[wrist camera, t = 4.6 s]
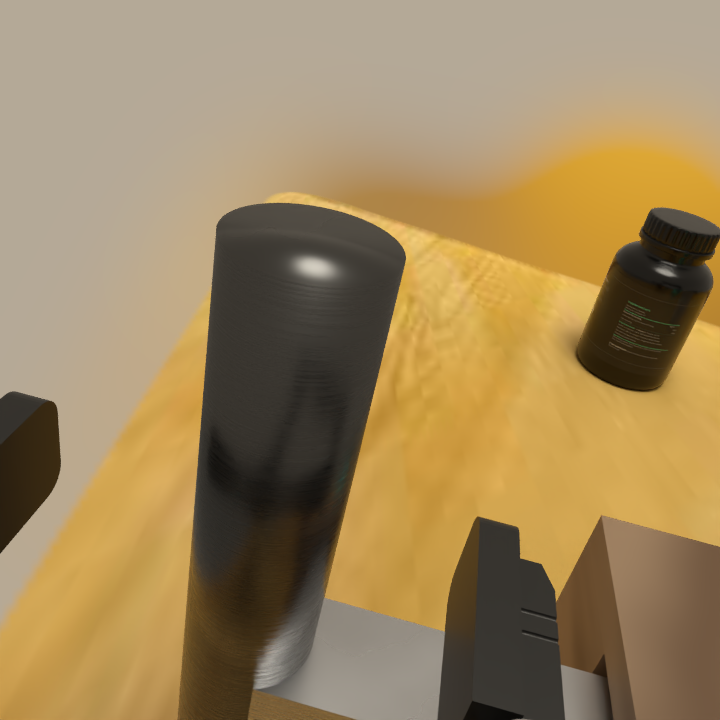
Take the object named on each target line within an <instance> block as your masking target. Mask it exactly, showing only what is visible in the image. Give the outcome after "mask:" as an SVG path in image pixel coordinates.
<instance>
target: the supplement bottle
mask: <svg viewBox="0 0 720 720" xmlns="http://www.w3.org/2000/svg"><path fill="white" fill-rule="evenodd" d="M639 236H640V237H641V240H640V241H636V242H632V243H629V244H627V245H625V246H623V247H622V248H621V249H620V250H619V251H618V252H617V253H616V255H615V257H614V259H613V262H612V264H611V266H610V268H609V271H608V273H607V276H606V278H605V280H604V283H603V285H602V288H601V290H600V292H599V295H598V297H597V300H596V302H595V304H594V307H593V309H592V312H591V314H590V316H589V319H588V321H587V324H586V326H585V328H584V331H583V333H582V336H581V338H580V341H579V344H578V347H577V352H578V356H579V359H580V361H581V362H582V364H583V365H584V366H585V367H586V368H587V369H588V370H589V371H590V372H592V373H593V374H595V375H596V376H598V377H599V378H601V379H603V380H605V381H607V382H609V383H612V384H614V385H617V386H620V387H623V388H627V389H633V390H650V389H654V388H656V387H658V386H660V385H661V384H662V383H663V382H664V381H665V380H666V378H667V376H668V374H669V372H670V370H671V369H672V367H673V365H674V363H675V361H676V359H677V357H678V355H679V353H680V351H681V349H682V347H683V345H684V343H685V341H686V339H687V337H688V335H689V334H690V332H691V330H692V328H693V326H694V324H695V322H696V320H697V318H698V316H699V314H700V312H701V310H702V308H703V306H704V304H705V302H706V300H707V298H708V296H709V294H710V292H711V290H712V288H713V276H712V273H711V271H710V269H709V268H708V266H707V265H706V264H705V260H709V259H711V258H712V257H713V255H714V253H715V247H716V245H717V243H718V241H719V239H720V229H719V227H717V226H716V225H715V224H713V223H711V222H710V221H707V220H705V219H703V218H701V217H699V216H696V215H693V214H690V213H687V212H684V211H680V210H676V209H670V208H654V209H651V211H650V212H649V214H648V216H647V219H646V221H645V224H644V226H643V227H642V228H641V230H640V233H639Z"/></svg>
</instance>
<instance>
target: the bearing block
mask: <svg viewBox="0 0 720 720" xmlns="http://www.w3.org/2000/svg"><path fill="white" fill-rule="evenodd" d="M556 611H557V619H556V622H557V624H558V636H559V640H558V645H559V649H560V661H561V665H564V666H568V667H571V668H575V669H578V670H582V671H585V672H589V673H592V674H596V675H599V676H603V677H607V678H608V683H609V690H610V698H611V705H612V712H613V719H614V720H720V547H718V546H714V545H711V544H707V543H703V542H699V541H696V540H692V539H688V538H684V537H681V536H677V535H673V534H670V533H666V532H662V531H658V530H655V529H651V528H647V527H643V526H640V525H636V524H632V523H629V522H625V521H621V520H617V519H614V518H610V517H606V516H602V515H601V517H600V519H599V521H598V523H597V525H596V527H595V529H594V531H593V533H592V534H591V536H590V538H589V540H588V542H587V544H586V546H585V548H584V550H583V552H582V554H581V556H580V558H579V559H578V561H577V563H576V565H575V567H574V569H573V571H572V573H571V575H570V577H569V579H568V581H567V583H566V585H565V586H564V588H563V590H562V592H561V594H560V596H559V598H558V600H557V602H556Z"/></svg>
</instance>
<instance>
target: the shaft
mask: <svg viewBox="0 0 720 720" xmlns="http://www.w3.org/2000/svg"><path fill="white" fill-rule="evenodd" d="M405 261H406V255H405V252H404V249H403V247H402V246H401V245H400V243H399V242H398V241H397V240H396V239H395V238H394V237H392V236H391V235H390V234H389V233H387V232H386V231H384V230H383V229H381V228H379V227H377V226H376V225H374V224H372V223H369V222H367V221H365V220H363V219H360V218H358V217H355V216H352V215H349V214H346V213H343V212H339V211H335V210H331V209H327V208H322V207H316V206H311V205H303V204H292V203H265V204H256V205H250V206H245V207H241V208H238V209H235V210H233V211H231V212H229V213H227V214H226V215H224V216H223V217H222V218H221V219H220V221H219V222H218V224H217V228H216V241H215V253H214V266H213V279H212V291H211V304H210V316H209V329H208V342H207V354H206V367H205V380H204V392H203V405H202V417H201V430H200V443H199V455H198V468H197V480H196V493H195V506H194V518H193V531H192V544H191V556H190V569H189V581H188V594H187V607H186V619H185V632H184V645H183V657H182V670H181V682H180V695H179V708H178V720H437V717H438V706H439V694H440V683H441V671H442V660H443V648H444V637H445V632H443V631H440V630H436V629H433V628H429V627H426V626H422V625H419V624H415V623H412V622H408V621H404V620H401V619H397V618H394V617H390V616H387V615H383V614H380V613H376V612H373V611H369V610H365V609H362V608H358V607H355V606H351V605H348V604H344V603H341V602H337V601H333V600H330V599H326V598H324V597H325V593H326V588H327V584H328V580H329V576H330V572H331V568H332V564H333V559H334V555H335V551H336V547H337V543H338V539H339V535H340V531H341V526H342V522H343V518H344V514H345V510H346V506H347V502H348V497H349V493H350V489H351V485H352V481H353V477H354V473H355V468H356V464H357V460H358V456H359V452H360V448H361V444H362V439H363V435H364V431H365V427H366V423H367V419H368V415H369V410H370V406H371V402H372V398H373V394H374V390H375V386H376V381H377V377H378V373H379V369H380V365H381V361H382V357H383V352H384V348H385V344H386V340H387V336H388V332H389V328H390V323H391V319H392V315H393V311H394V307H395V303H396V299H397V294H398V290H399V286H400V282H401V278H402V274H403V270H404V265H405ZM561 674H562V686H563V699H564V711H565V720H614V719H613V712H612V705H611V698H610V690H609V683H608V678H607V677H603V676H599V675H596V674H592V673H589V672H585V671H582V670H578V669H575V668H571V667H568V666H564V665H561Z"/></svg>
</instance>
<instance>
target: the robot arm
mask: <svg viewBox="0 0 720 720" xmlns="http://www.w3.org/2000/svg"><path fill="white" fill-rule="evenodd" d="M60 467H61V458H60V442H59V428H58V412H57V407H56V405H55V403H54V402H52V401H49V400H45V399H41V398H38V397H34V396H30V395H26V394H23V393H19V392H9V393H7V394H6V395H5V396H3V397H2V398H1V399H0V553H1V552H2V551H3V550H4V548H5V547H6V546H7V545H8V544H9V543H10V541H11V540H12V539H13V538H14V537H15V535H16V534H17V533H18V532H19V531H20V529H21V528H22V527H23V525H25V523H26V522H27V521H28V520H29V519H30V518H31V516H32V515H33V514H34V513H35V512H36V510H37V509H38V508H39V507H40V506H41V504H42V503H43V502H44V501H45V500H46V499H47V497H48V496H49V495H50V493H51V492H52V490H53V488H54V486H55V484H56V482H57V479H58V476H59V472H60ZM556 619H557V611H556V599H555V590H554V588H553V586H552V584H551V582H550V580H549V578H548V576H547V574H546V572H545V570H544V568H543V566H542V564H539V563H535V562H532V561H528V560H524V559H520V540H519V529H518V527H515V526H512V525H508V524H504V523H500V522H497V521H493V520H489V519H485V518H482V517H477V518H476V519H475V521H474V523H473V526H472V528H471V531H470V533H469V536H468V539H467V541H466V544H465V547H464V549H463V552H462V554H461V557H460V560H459V562H458V565H457V567H456V570H455V573H454V576H453V579H452V583H451V587H450V592H449V597H448V604H447V614H446V625H445V637H444V648H443V660H442V671H441V683H440V694H439V706H438V717H437V720H565V711H564V699H563V686H562V674H561V661H560V649H559V645H558V640H559V636H558V624H557V622H556Z"/></svg>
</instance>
